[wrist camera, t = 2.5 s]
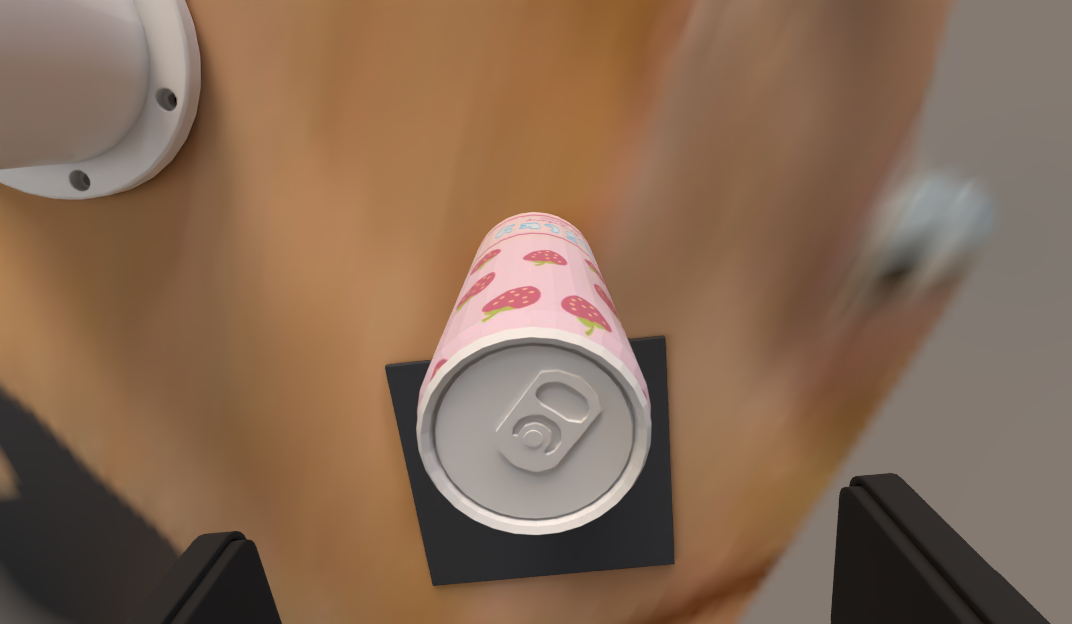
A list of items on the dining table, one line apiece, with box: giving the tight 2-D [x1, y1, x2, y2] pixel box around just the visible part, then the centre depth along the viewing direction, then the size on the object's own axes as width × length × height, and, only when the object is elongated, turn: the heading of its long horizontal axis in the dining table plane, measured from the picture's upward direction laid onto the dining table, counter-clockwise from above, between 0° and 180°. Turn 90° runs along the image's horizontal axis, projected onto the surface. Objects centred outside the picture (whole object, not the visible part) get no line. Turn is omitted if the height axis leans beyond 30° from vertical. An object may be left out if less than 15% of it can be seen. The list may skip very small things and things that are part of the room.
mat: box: [385, 336, 674, 586], centre depth 30 cm, size 14×14×1 cm
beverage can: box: [416, 212, 652, 535], centre depth 20 cm, size 6×6×15 cm
